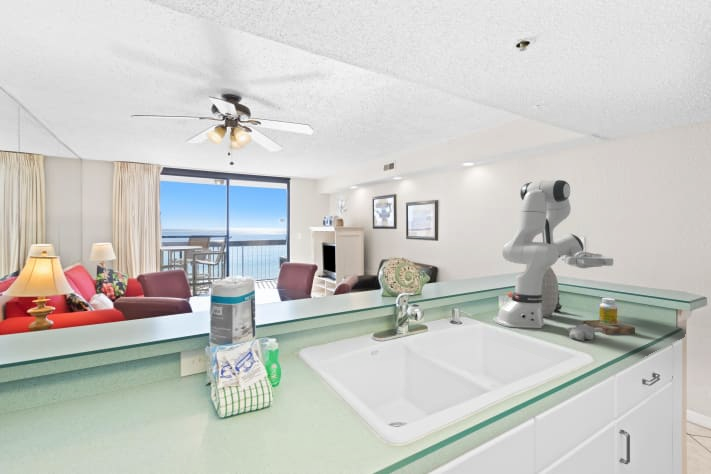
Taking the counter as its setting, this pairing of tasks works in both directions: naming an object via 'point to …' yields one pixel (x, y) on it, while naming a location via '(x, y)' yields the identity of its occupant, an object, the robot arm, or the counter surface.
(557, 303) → the salt shaker
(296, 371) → the counter surface
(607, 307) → the supplement bottle
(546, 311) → the vase
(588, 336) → the bunny figurine
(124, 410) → the counter surface
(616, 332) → the walnut base
